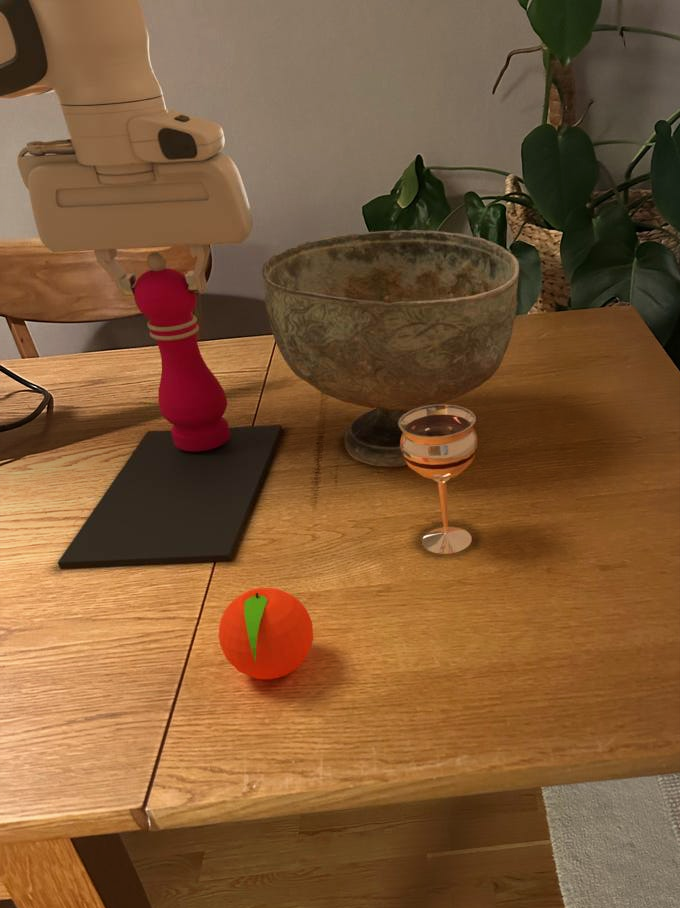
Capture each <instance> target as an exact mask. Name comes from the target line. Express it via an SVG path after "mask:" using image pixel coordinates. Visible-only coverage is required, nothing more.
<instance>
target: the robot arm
mask: <svg viewBox="0 0 680 908" xmlns="http://www.w3.org/2000/svg"><path fill="white" fill-rule="evenodd" d="M145 17H146V16H145V14H144V10H143V5H142V2H141V0H0V99H18V98H23V97H28V96H36V95H37V96H39V95H44V94H49V93H53V92H54V93H55V94H56V96H57V98H58V101H59V104H60V107H61V111H62V115H63V117H64V121H65V124H66V127H67V131H68V134H69V137H70V138H67V139H56V140H52V141H51V140H50V141H42V140H34V141H30V142H29V141H28V142H27V143H26V146H25V147H24V148H22V149H21V150H20V151H19V153H18V155H17V167H18V170H19V173H20V176H21V179H22V182H23V184H24V187H26V189H27V190H28V193H29V200H30V204H31V210H32V214H33V219H34V223H35V227H36V230H37V234H38V236H39V240H40V242H41V243H42V244H43V245H44V246H45V247H46V248H47V249H48V250H49V251H51V252H52V253H69V252H70V253H71V252H89V251H93V252H94V255H95V258H96V261H97V263H98V265H99V266H101V268H102V269H103V270H104V271H105V272H106V273H107V274H108V275H109V276H110V277H111V278H112V280H114V282H115V285H116V288H117V291H118V295H119V296H120V297H134V287H135V283H136V281H137V278H136V274H135V273H127V272H126V271H125V270H124V269H123V267H122V266H121V265H120V264H119V262H118V261H117V260H116V257H117V256H118V255H119V254H118V250H128V249H130V250H132V249H150V248H152V249H153V248H170V247H171V248H173V247H188V249H189V253H190V257H191V258H196V262H195V264H194V269H193V270H189V271H188V272H187V273H186V274H184V275H185V278H186V282H187V284H188V285H189V286H188V290H189V292H190V293H196V294H200V293H205V292H207V290H208V284H207V279H206V275H205V270H206V267H207V263H208V260H209V258H210V254H211V249H210V246H211V245H229V244H232V245H233V244H242V243H244V242H245V241H246V240H247V238H248V237H249V236H250V234H251V233H252V231H253V228H254V220H253V219H254V218H253V215H252V210H251V206H250V202H249V198H248V194H247V191H246V188H245V185H244V182H243V180H242V179H243V178H242V177H241V173H240V171H239V169H238V167H237V165H236V164H235V162H234V161H233V159H231V157H230V156H228V155H227V154H226V153H224V152H222V151H221V150H223V148H224V147H225V142H226V141H225V140H226V139H225V134H224V130H223V128H222V126H221V125H220V124H218V123H216V122H214V121H212V120H207V119H205V118H204V119H203V118H201V117H197V116H193V115H190V114H187V113H184V112H180V111H178V110H174V109H170V108H167V106H166V102H165V99H164V94H163V90H162V87H161V85H160V82H159V81H158V79H157V77H156V75H155V72H154V69H153V67H152V62H151V55H150V35H149V31H148V26H147V21H146V18H145ZM28 153H29V155H27V154H28Z"/></svg>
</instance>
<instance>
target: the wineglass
mask: <svg viewBox="0 0 680 908" xmlns="http://www.w3.org/2000/svg"><path fill="white" fill-rule="evenodd" d="M476 417H477V416H476V415H475V413H474V412H473V411H472V410H470V409H468V408H466V407H465V406H461V405H456V404H446V403H442V404H439V405H428V406H423V407H419V408H416V409H413V410H410V411H409V412H407V413H405V414H403V415H402V417H401V418H400V419H399V422H398V426H399V427H400V429H401V430H402V431H403V433H402V435H401V441H400V449H401V454H402V456H403V458H404V459H405V461H406V463H407V464H408V465H407V466H408V468H409V469H411V470H413V472H416V473H417V474H418V475H420V476H422V477H423V478H426V479H429V480H433V481H434V482H436V483H437V487H438V495H439V502H440V503H439V504H440V511H441V518H442V519H441V520H442V527H438V528H434V529H432V530H430V531H429V532H427V533H425V534H424V535H423V537H422V539H421V544H422V546H423V548H424V549H426V551H428V552H432V553H433V554H441V555H444V554H445V555H448V554H454V553H458V552H461V551H463V550H465V549H466V548H467V547H469V546H470V545H471V543H472V540H473V539H472V535H471V533H470V532H469V531H467V530H466V529H463V528H461V527H455V526H449V518H448V517H449V515H448V513H449V512H448V490H447V489H448V488H447V482H449V481H450V479H451V478H455V477H457V476H459V475H460V474H461V473H463V472H464V471H465V470H466V469H467V468H468V467H469V466H470V465H471V464H472V463H473V462H474V459H475V458H476V454H477V452H478V434H477V431H476V429H475V428H474V425H475V424H476V422H477V421H476V419H477V418H476Z"/></svg>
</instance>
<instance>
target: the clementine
mask: <svg viewBox="0 0 680 908" xmlns="http://www.w3.org/2000/svg"><path fill="white" fill-rule="evenodd" d="M218 640H219V641H218V642H219V646H220V648H221V650H222V652H223V654H224V656H225V658H226V661H227V662H228V663H230V664H231V665H232V666H233V667H234V668H235V669H236V670H237V671H238V672H239V673H241V674H243V675H246V676H248V677H251V678H253V679H257V680H274V679H279V678H281V677H284V676H287V675H290V674H291V673H293V672H295V671H296V670H297V669H298V668H299V667H300V666H301V665H302V664H303V662H304V661H305V660H306V658H307V657H308V656H309V654H310V650H311V647H312V645H313V641H314V628H313V621H312V619H311V616H310V614H309V611H308V610H307V608H306V607H305V606H304V605H303V604H302V602H301V601H300V600H299V599H298V598H297V597H295V596H294V595H292V594H290V593H289V592H287V591H285V590H282V589H279V588H273V587H256V588H253V589H249V590H247V591H245V592H242V593H241V594H240V595H238V596H237V597H235V598H234V599H233V600H232V601H231V602H230V603H229V604H228V605H227V607H226V608H225V610H224V612H223V614H222V615H221V617H220V622H219V627H218Z"/></svg>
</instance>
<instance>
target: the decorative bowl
mask: <svg viewBox="0 0 680 908" xmlns="http://www.w3.org/2000/svg"><path fill="white" fill-rule="evenodd" d="M519 263H520V262H519V261H518V259H517V257H516V256H515V255H514V254H512V252H510V251H509V250H507V249H505V248H504V247H503V246H501V245H499V244H497V243H495V242H492V241H490V240H487V239H485V238H482V237H477V236H472V235H469V234H464V233H457V232H448V231H447V232H446V231H441V230H422V229H421V230H419V229H412V230H406V229H401V230H384V231H383V230H382V231H381V230H380V231H368V232H367V231H365V232H358V233H348V234H339V235H330V236H326V237H325V236H324V237H321V238H318V239H314V240H313V241H306V242H305V243H301V244H297V245H296V246H295V247H290V248H286V249H285V250H284V251H283V252H282V253H280V254H274V255H272V256H271V257H270V258H269V260H266V261H265V263H264V264H263V266H262V269H261V270H262V271H261V273H262V278H263V284H264V293H265V296H264V301H265V309H266V312H267V317H268V321H269V325H270V330H271V333H272V336H273V338H274V339H273V340H274V341H275V344H276V347H277V348H278V351H279V352H280V354H281V357H282V358H283V361H284V362H285V363H286V364H287V365H288V367H289V368H290V370H291V371H292V372H293V373H294V375H295V376H296V377H298V378H299V379H301V380H303V382H305V383H307V384H309V385H310V386H312V387H313V388H315V389H316V390H318V391H319V392H320V393H321V394H323V395H326V396H328V397H330V398H334V399H336V400H337V401H340V402H343V403H347V404H351V405H356V406H361V407H365V408H369V409H372V410H370V411H368V412H365V413H363V414H361V415H360V416H358V417H357V418H356V419H355V420H354V421H353V422H352V423H351V424H349V426H348V428H347V429H346V431H345V433H344V445H345V447H344V448H345V449H346V451H347V453H348V454H349V456H350V457H351V458H353V459H354V460H356V461H358V462H361V463H364V464H367V465H371V466H376V467H387V468H388V467H389V468H391V467H393V468H394V467H403V466H408V464H407V463H406V461H405V459H404V458H403V456H402V454H401V449H400V441H401V435H402V433H403V431H402V430H401V429H400V427H399V426H398V422H399V419H400V418H401V417H402V415H403V414H405V413H407V412H409V411H410V410H413V409H416V408H419V407H423V406H428V405H439V404H445V403H447V402H449V401H452V400H456V399H457V398H460V397H462V396H464V395H466V394H468V393H470V392H472V391H473V390H475V389H477V388H479V387H481V386H482V385H483V384H485V383H487V381H489V380H490V379H491V378H492V377H493V376H494V374H495V373H496V372H497V371H498V369H499V368H500V366H501V365H502V362H503V359H504V357H505V354H506V353H507V350H508V348H509V344H510V341H511V338H512V334H513V330H514V323H515V320H516V318H517V310H518V301H517V300H518V299H517V298H518V285H519V274H520V264H519Z"/></svg>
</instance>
